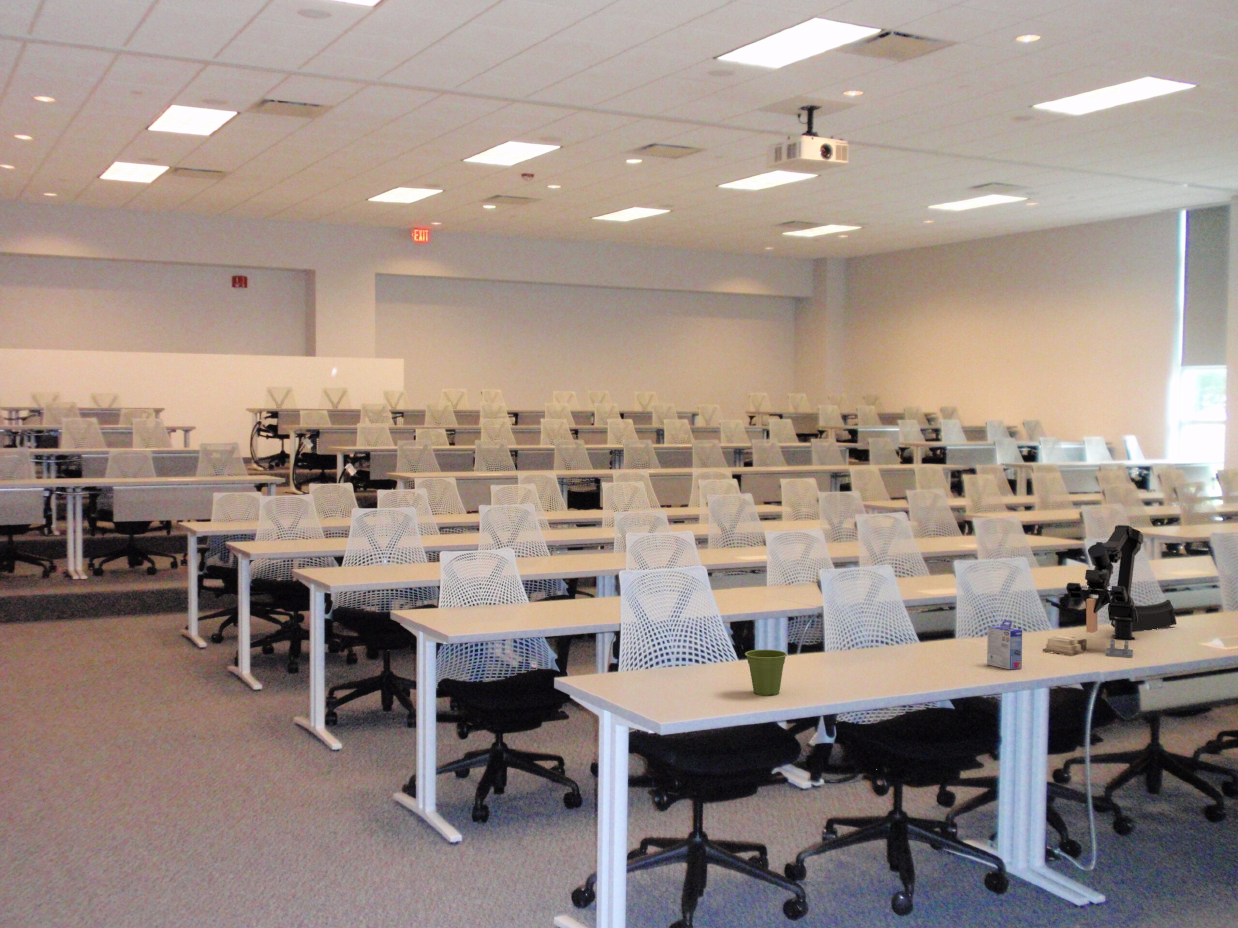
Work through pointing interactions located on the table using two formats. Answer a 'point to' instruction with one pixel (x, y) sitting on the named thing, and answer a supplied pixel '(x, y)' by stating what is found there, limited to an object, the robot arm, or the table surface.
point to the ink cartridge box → (1004, 646)
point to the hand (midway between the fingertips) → (1090, 611)
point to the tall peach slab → (1091, 616)
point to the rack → (1066, 645)
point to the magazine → (1153, 616)
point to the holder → (1119, 650)
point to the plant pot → (766, 670)
